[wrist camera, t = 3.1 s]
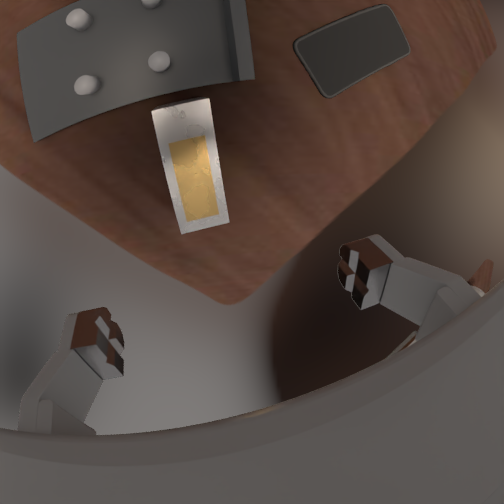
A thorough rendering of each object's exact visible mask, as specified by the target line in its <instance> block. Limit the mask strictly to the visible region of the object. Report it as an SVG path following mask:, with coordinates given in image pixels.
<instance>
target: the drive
mask: <svg viewBox="0 0 504 504" xmlns="http://www.w3.org/2000/svg"><path fill="white" fill-rule="evenodd" d="M151 112H152V117H153V121H154V126H155V131H156V136H157V140H158V145H159V149H160V154H161V158H162V162H163V166H164V170H165V175H166V179H167V183H168V187H169V191H170V194H171V198H172V202H173V206H174V209H175V213H176V217H177V220H178V224H179V228H180V231H181V234H185V233H189V232H193V231H196V230H200V229H204V228H209V227H213V226H217V225H221V224H225V223H229V217H228V211H227V205H226V199H225V194H224V188H223V182H222V176H221V169H220V163H219V157H218V151H217V145H216V138H215V132H214V126H213V119H212V113H211V106H210V100H209V98H205V97H196V98H191V99H186V100H182V101H177V102H173V103H168V104H164V105H160V106H157V107H155V108H154V109H153V110H152V111H151Z"/></svg>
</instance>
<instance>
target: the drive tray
mask: <svg viewBox="0 0 504 504" xmlns="http://www.w3.org/2000/svg"><path fill="white" fill-rule="evenodd" d="M17 48H18V61H19V70H20V78H21V85H22V91H23V97H24V103H25V108H26V113H27V117H28V122H29V126H30V130H31V134H32V138H33V141H34V143H35V142H37V141H38V140H40V139H42V138H44V137H46V136H48V135H51V134H53V133H55V132H57V131H59V130H61V129H63V128H66V127H68V126H70V125H73V124H75V123H77V122H80V121H82V120H85V119H87V118H90V117H92V116H95V115H98V114H100V113H103V112H106V111H109V110H112V109H115V108H118V107H121V106H124V105H127V104H130V103H133V102H137V101H140V100H144V99H147V98H151V97H155V96H159V95H163V94H167V93H171V92H175V91H180V90H185V89H190V88H195V87H200V86H206V85H212V84H218V83H225V82H232V81H241V80H250V79H255V74H254V65H253V57H252V49H251V41H250V33H249V26H248V18H247V11H246V4H245V0H79V1H77V2H75V3H72V4H70V5H68V6H66V7H64V8H61V9H59V10H57V11H55V12H53V13H51V14H49V15H48V16H46V17H44V18H42V19H40V20H38V21H37V22H35V23H33V24H31V25H30V26H28V27H26V28H25V29H23V30H21V31H20V32H18V33H17Z"/></svg>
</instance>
